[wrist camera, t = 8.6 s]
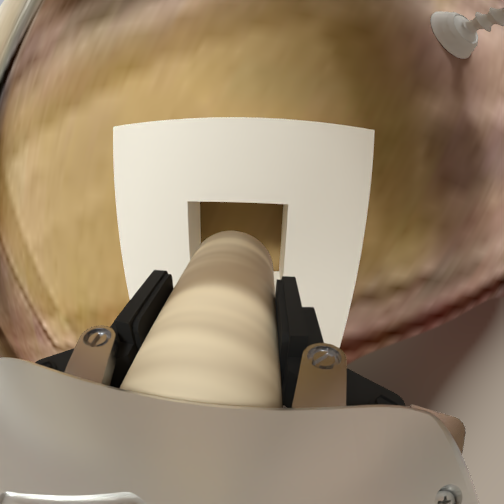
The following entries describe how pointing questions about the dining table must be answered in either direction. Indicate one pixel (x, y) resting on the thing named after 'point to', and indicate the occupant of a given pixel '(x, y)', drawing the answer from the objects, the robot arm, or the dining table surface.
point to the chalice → (463, 30)
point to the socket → (248, 198)
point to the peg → (216, 330)
